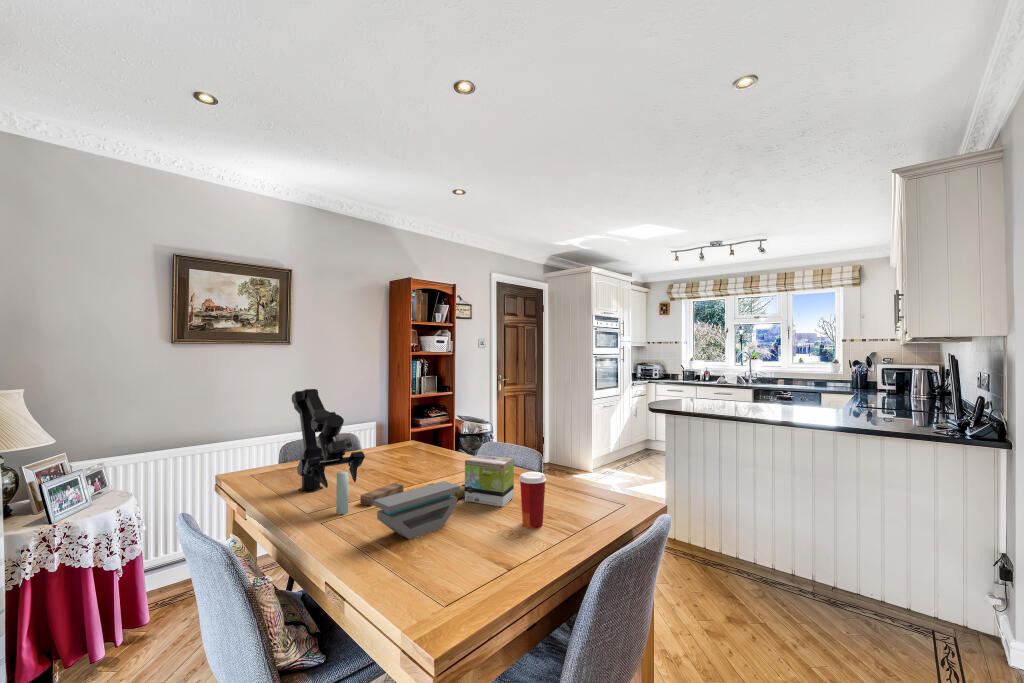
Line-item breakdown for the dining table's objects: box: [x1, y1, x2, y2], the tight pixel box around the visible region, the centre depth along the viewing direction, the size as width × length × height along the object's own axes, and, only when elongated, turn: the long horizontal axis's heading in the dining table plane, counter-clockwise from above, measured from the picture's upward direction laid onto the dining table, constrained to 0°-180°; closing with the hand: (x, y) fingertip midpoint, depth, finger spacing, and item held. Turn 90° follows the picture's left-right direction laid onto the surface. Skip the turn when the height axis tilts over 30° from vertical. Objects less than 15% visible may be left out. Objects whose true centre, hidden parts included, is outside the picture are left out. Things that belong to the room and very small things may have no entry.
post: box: [335, 471, 349, 515], centre depth 145 cm, size 4×4×13 cm
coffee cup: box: [518, 471, 547, 530], centre depth 135 cm, size 8×8×15 cm
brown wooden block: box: [359, 482, 404, 507], centre depth 159 cm, size 16×5×3 cm, turn 152°
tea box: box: [464, 454, 515, 508], centre depth 157 cm, size 15×10×15 cm
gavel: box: [428, 483, 465, 500], centre depth 165 cm, size 21×5×10 cm
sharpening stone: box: [373, 480, 461, 540], centre depth 131 cm, size 25×8×11 cm, turn 138°
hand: (341, 484), depth 145 cm, fingers open, 9 cm apart
